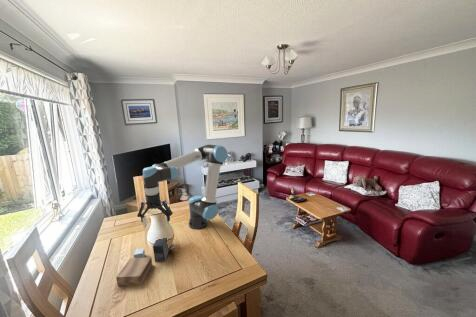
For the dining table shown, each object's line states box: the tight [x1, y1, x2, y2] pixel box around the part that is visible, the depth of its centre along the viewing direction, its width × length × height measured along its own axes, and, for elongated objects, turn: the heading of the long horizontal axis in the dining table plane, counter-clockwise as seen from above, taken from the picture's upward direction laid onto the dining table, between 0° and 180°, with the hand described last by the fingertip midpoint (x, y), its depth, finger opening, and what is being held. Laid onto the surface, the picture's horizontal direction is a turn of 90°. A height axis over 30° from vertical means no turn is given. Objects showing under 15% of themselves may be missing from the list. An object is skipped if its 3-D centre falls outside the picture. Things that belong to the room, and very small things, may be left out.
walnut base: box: [115, 256, 153, 287], centre depth 108 cm, size 12×14×5 cm
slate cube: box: [133, 248, 146, 258], centre depth 120 cm, size 5×5×5 cm
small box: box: [152, 238, 171, 262], centre depth 122 cm, size 11×6×10 cm, turn 5°
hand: (156, 226), depth 120 cm, fingers open, 13 cm apart
